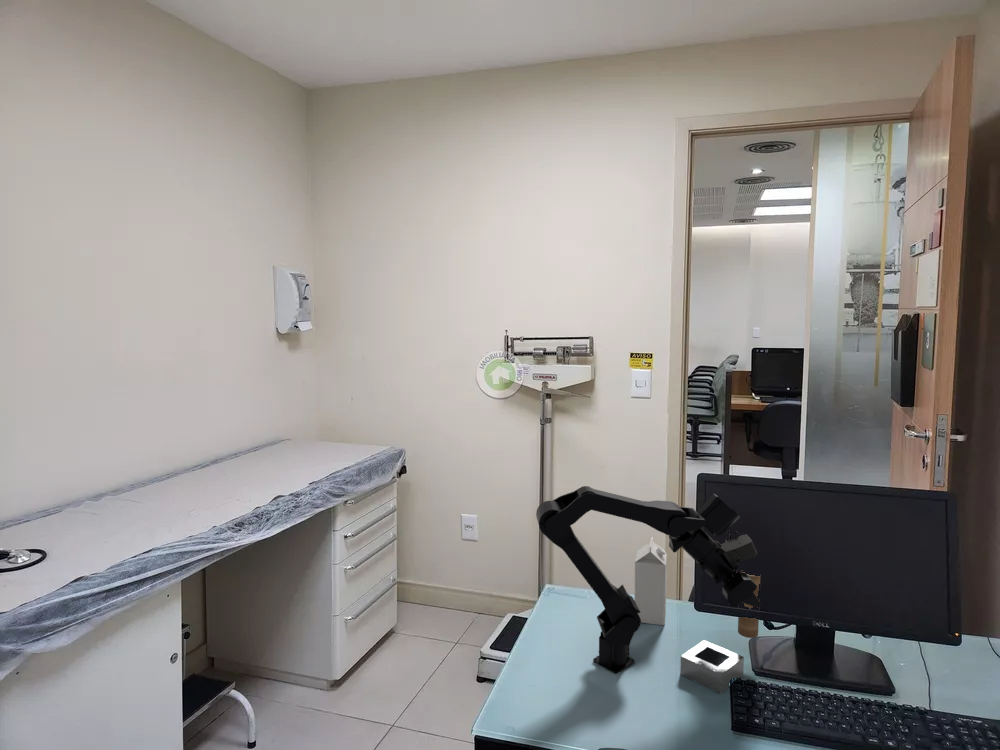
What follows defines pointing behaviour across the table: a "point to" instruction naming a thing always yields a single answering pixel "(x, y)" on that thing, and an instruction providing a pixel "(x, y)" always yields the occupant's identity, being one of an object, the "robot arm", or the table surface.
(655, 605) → the milk carton
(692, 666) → the socket block
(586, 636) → the table surface
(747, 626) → the peg
